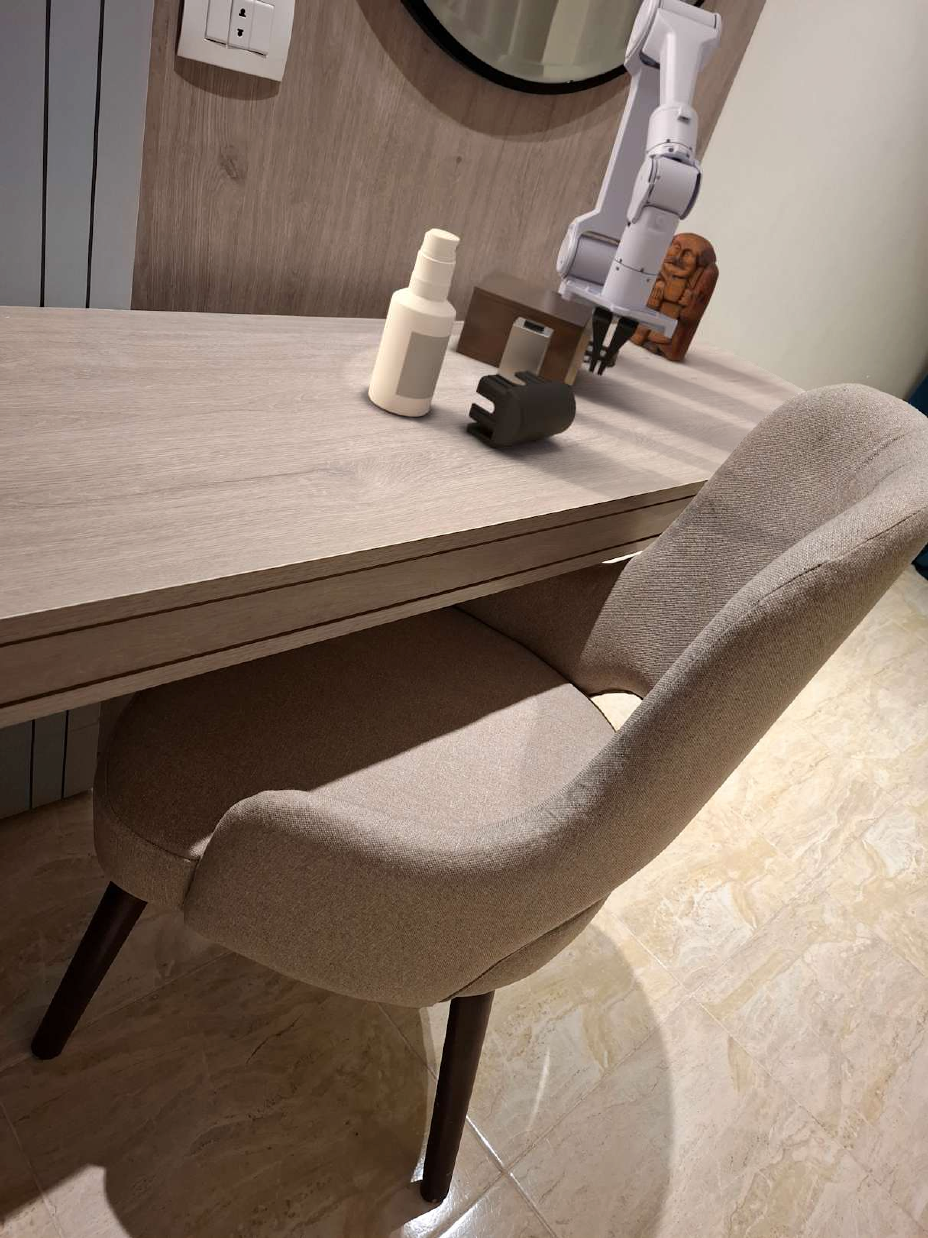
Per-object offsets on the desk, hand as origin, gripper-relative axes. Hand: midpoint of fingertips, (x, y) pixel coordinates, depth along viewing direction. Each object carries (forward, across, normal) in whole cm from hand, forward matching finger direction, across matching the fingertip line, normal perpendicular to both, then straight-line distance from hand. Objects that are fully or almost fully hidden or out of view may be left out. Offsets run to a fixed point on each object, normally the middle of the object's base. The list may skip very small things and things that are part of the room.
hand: (595, 371), depth 117 cm
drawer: (+2, -7, +5) cm, 9 cm away
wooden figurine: (+4, +7, +36) cm, 37 cm away
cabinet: (+3, -11, +5) cm, 12 cm away
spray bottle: (+4, -19, -25) cm, 32 cm away
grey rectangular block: (+3, -9, -9) cm, 13 cm away
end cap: (+4, -6, -23) cm, 24 cm away
